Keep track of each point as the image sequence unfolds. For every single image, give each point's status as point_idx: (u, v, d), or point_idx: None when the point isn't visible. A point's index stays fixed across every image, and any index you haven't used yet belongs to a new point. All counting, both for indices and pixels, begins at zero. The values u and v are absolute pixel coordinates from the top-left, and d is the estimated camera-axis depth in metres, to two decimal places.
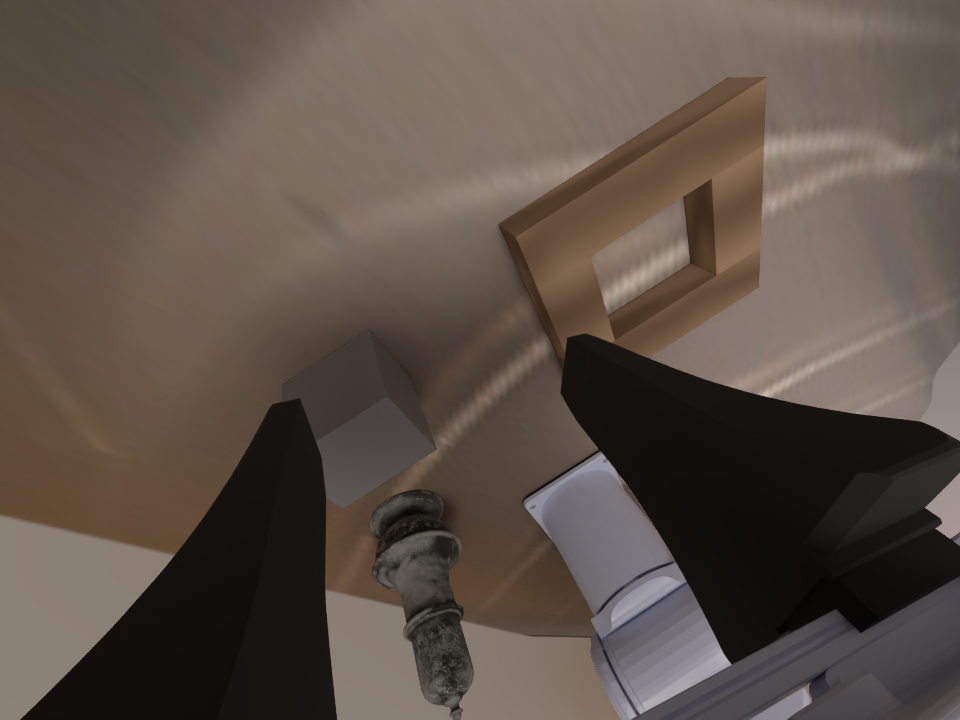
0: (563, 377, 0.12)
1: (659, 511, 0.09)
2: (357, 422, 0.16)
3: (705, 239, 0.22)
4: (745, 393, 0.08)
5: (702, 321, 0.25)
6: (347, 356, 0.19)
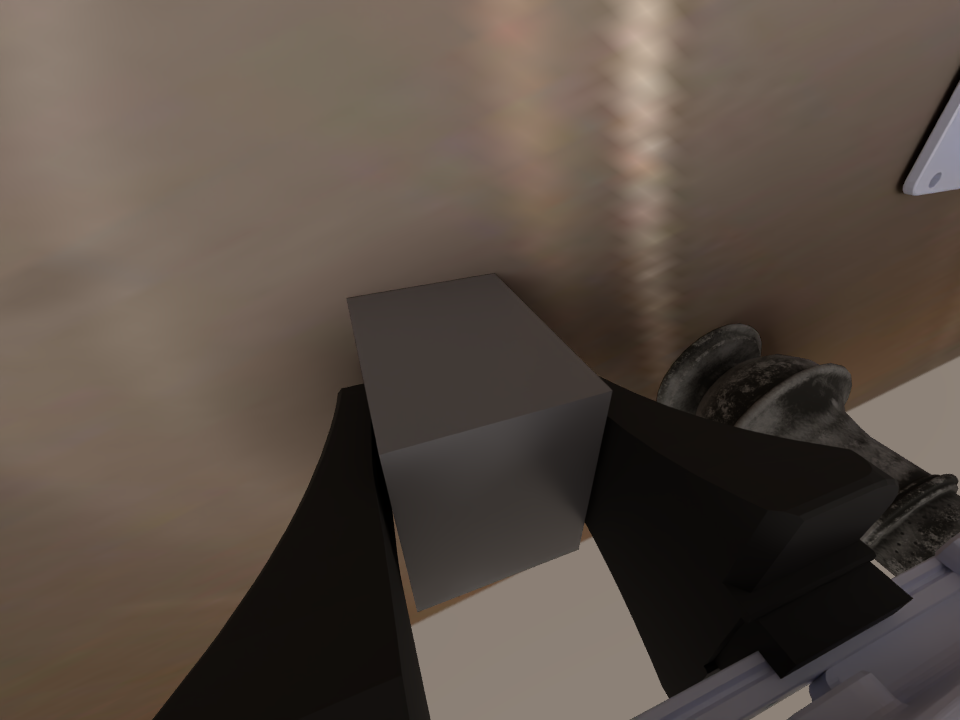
0: None
1: (602, 533, 0.09)
2: (411, 514, 0.07)
3: None
4: (681, 413, 0.07)
5: None
6: None
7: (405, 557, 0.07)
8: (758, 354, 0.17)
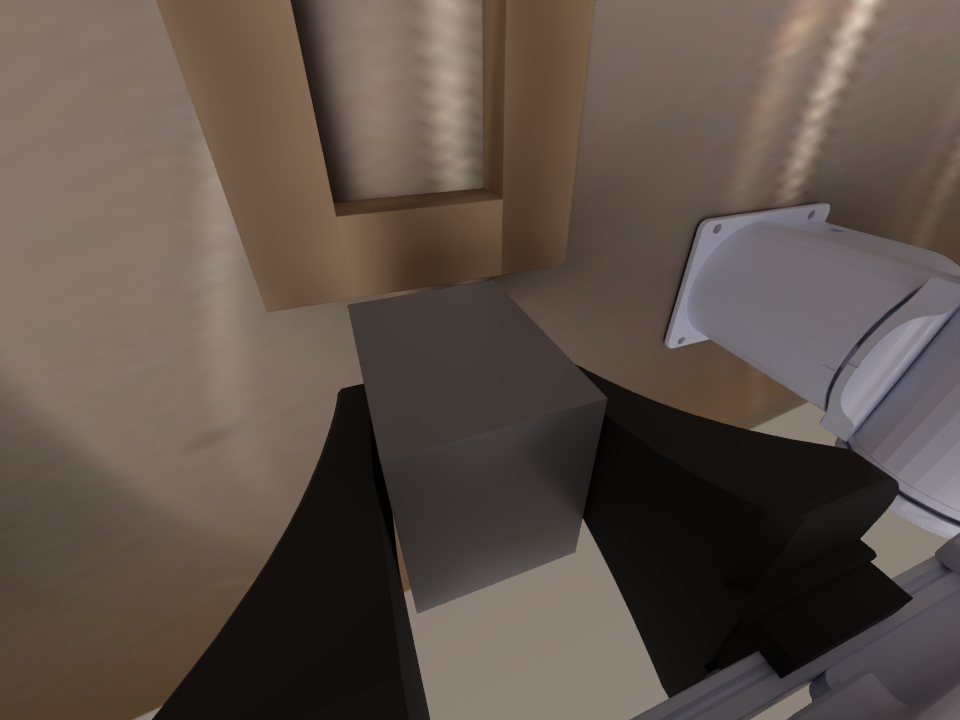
0: None
1: (602, 533, 0.09)
2: (411, 518, 0.07)
3: None
4: (681, 413, 0.07)
5: None
6: None
7: (405, 560, 0.08)
8: None
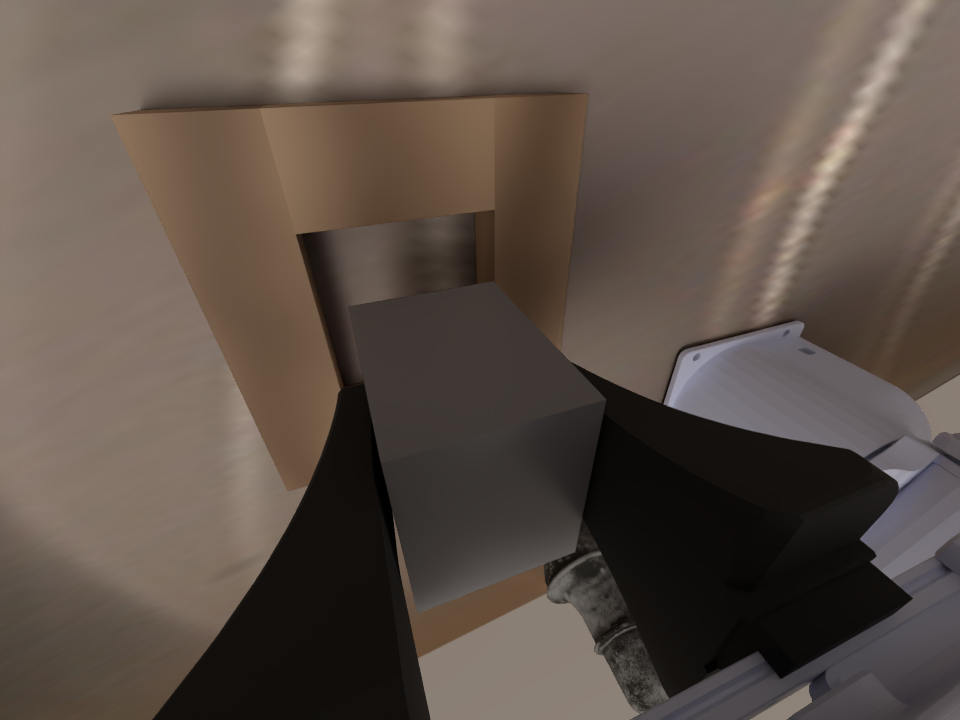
0: None
1: (601, 533, 0.09)
2: (411, 518, 0.07)
3: None
4: (681, 413, 0.07)
5: (569, 235, 0.14)
6: None
7: (405, 560, 0.08)
8: None
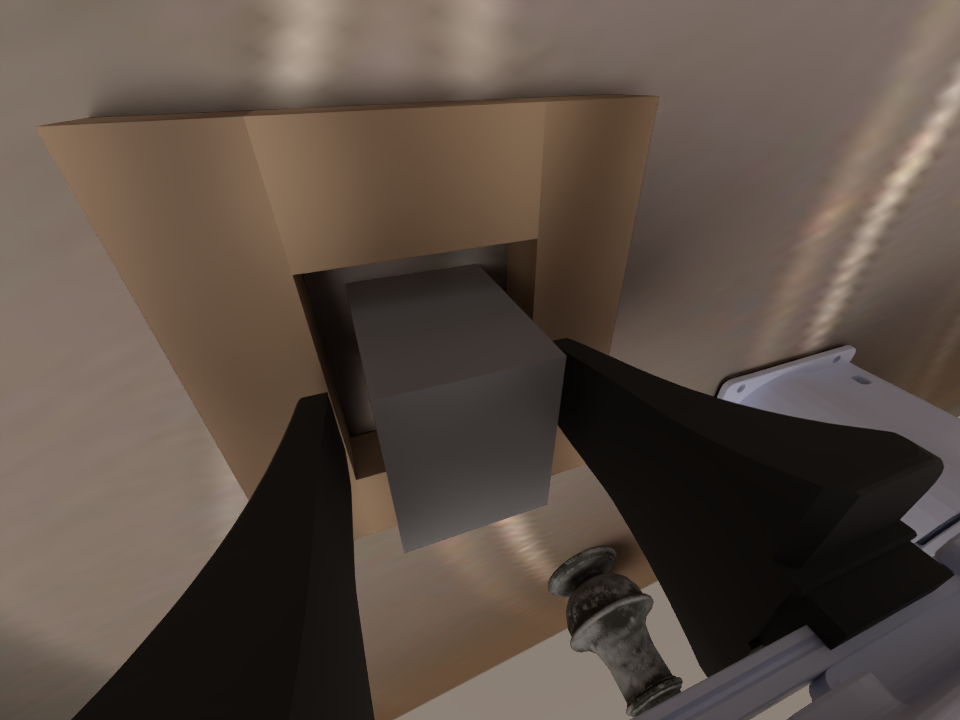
0: None
1: (637, 520, 0.09)
2: (397, 457, 0.08)
3: None
4: (721, 401, 0.08)
5: (622, 265, 0.12)
6: None
7: (393, 498, 0.09)
8: (611, 560, 0.27)
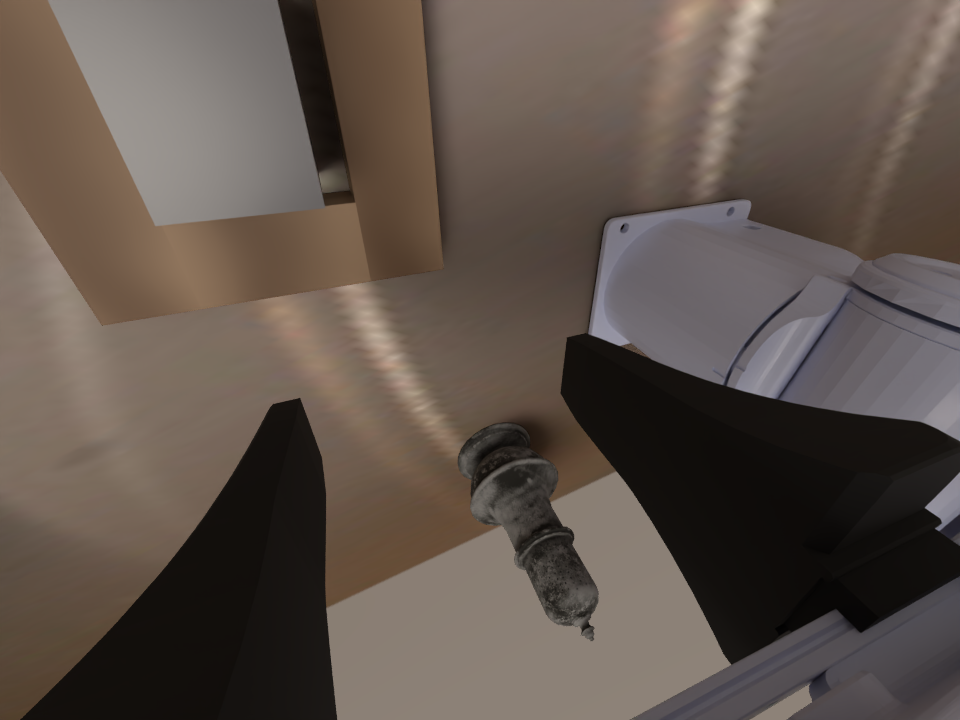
0: (563, 377, 0.12)
1: (659, 511, 0.09)
2: (90, 51, 0.08)
3: None
4: (745, 393, 0.08)
5: None
6: None
7: (107, 122, 0.09)
8: (522, 439, 0.27)
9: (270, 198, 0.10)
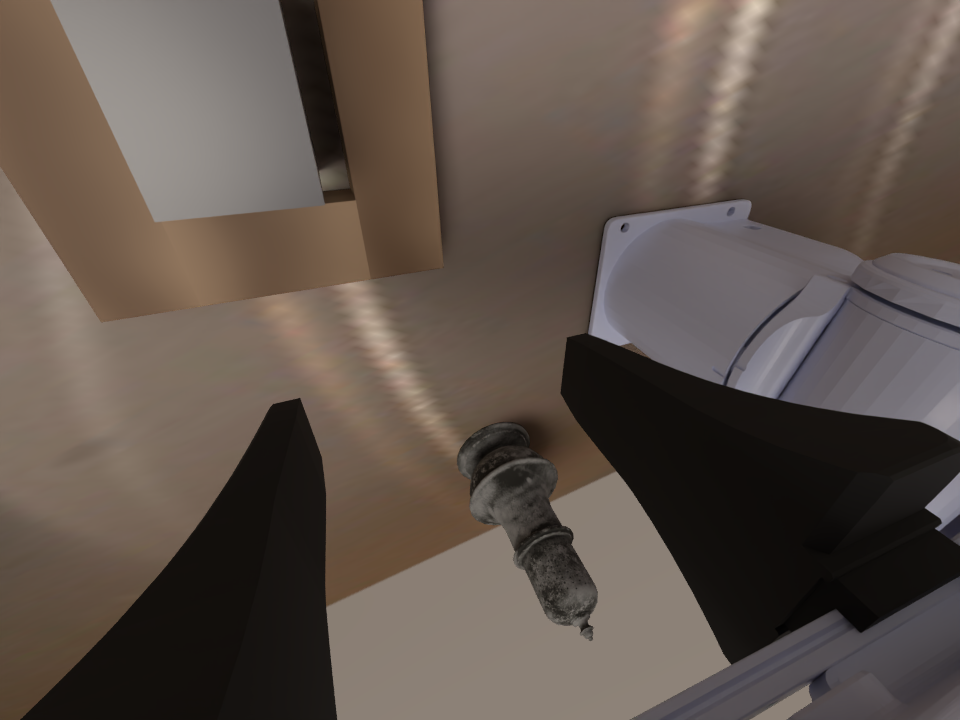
0: (563, 377, 0.12)
1: (659, 511, 0.09)
2: (89, 46, 0.08)
3: None
4: (745, 393, 0.08)
5: None
6: None
7: (107, 118, 0.09)
8: (521, 438, 0.27)
9: (270, 195, 0.10)
